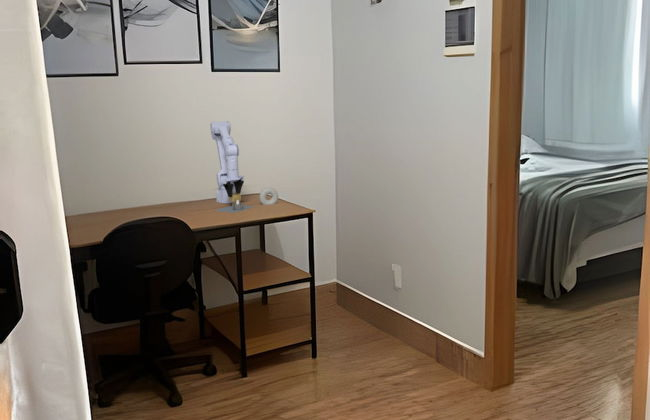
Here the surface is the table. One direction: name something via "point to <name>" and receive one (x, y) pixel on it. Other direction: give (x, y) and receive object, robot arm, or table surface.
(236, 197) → the brass gear
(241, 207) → the fixed gear
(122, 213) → the table surface
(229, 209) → the gear board
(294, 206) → the table surface
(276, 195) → the donut
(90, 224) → the table surface
